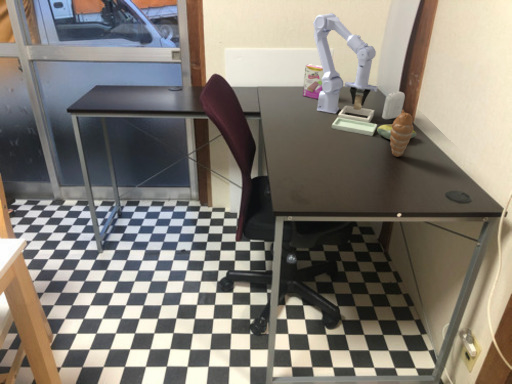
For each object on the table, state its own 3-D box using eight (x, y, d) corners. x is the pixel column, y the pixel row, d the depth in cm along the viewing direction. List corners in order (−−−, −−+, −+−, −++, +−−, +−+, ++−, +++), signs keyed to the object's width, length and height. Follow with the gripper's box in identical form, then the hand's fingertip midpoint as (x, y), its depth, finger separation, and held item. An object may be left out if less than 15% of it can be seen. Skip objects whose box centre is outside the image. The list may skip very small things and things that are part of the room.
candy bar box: (302, 96, 219) (305, 65, 211) (306, 94, 223) (309, 63, 214) (321, 100, 214) (325, 68, 206) (325, 98, 218) (329, 66, 209)
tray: (331, 128, 181) (331, 124, 180) (336, 121, 189) (337, 117, 188) (372, 135, 175) (373, 132, 174) (376, 128, 183) (377, 124, 182)
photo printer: (394, 114, 200) (400, 89, 194) (401, 116, 197) (407, 91, 191) (380, 117, 195) (385, 92, 189) (387, 120, 192) (392, 94, 186)
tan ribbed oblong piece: (382, 151, 162) (391, 107, 153) (401, 151, 162) (412, 107, 153) (390, 161, 154) (400, 115, 145) (410, 161, 155) (421, 116, 146)
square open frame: (337, 120, 190) (338, 114, 188) (344, 111, 201) (345, 105, 199) (367, 125, 185) (368, 119, 183) (373, 116, 196) (374, 110, 195)
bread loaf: (352, 109, 190) (354, 96, 187) (354, 106, 192) (356, 94, 189) (360, 110, 188) (362, 97, 185) (361, 108, 191) (363, 95, 188)
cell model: (376, 125, 180) (412, 117, 174) (380, 142, 181) (416, 134, 176) (376, 129, 170) (414, 120, 164) (380, 147, 171) (417, 139, 166)
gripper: (344, 74, 182) (340, 104, 189) (377, 79, 177) (372, 109, 184) (348, 71, 187) (343, 100, 194) (380, 75, 182) (374, 105, 189)
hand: (357, 104), depth 189 cm, fingers closed on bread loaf, 4 cm apart
